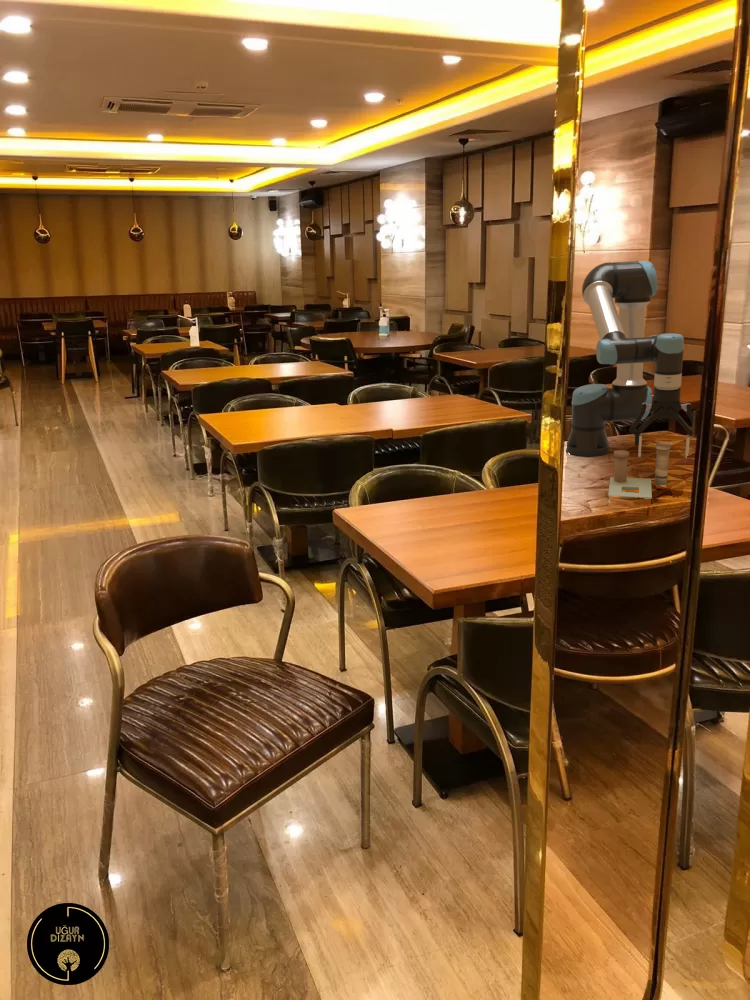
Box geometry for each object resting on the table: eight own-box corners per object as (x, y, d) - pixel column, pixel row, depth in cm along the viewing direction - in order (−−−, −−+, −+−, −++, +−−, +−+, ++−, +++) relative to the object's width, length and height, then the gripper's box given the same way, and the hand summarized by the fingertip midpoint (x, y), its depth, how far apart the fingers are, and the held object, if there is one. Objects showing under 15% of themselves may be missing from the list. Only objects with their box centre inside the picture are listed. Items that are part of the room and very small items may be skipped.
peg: (652, 485, 254) (655, 442, 249) (667, 486, 253) (670, 442, 248) (653, 490, 250) (655, 446, 245) (668, 490, 249) (671, 446, 244)
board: (609, 489, 253) (611, 449, 249) (650, 491, 250) (652, 450, 245) (607, 508, 238) (609, 465, 234) (651, 510, 235) (653, 467, 230)
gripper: (623, 389, 241) (619, 458, 248) (713, 390, 234) (708, 461, 241) (623, 384, 248) (620, 451, 255) (711, 384, 240) (706, 454, 247)
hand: (663, 456), depth 248 cm, fingers open, 13 cm apart
